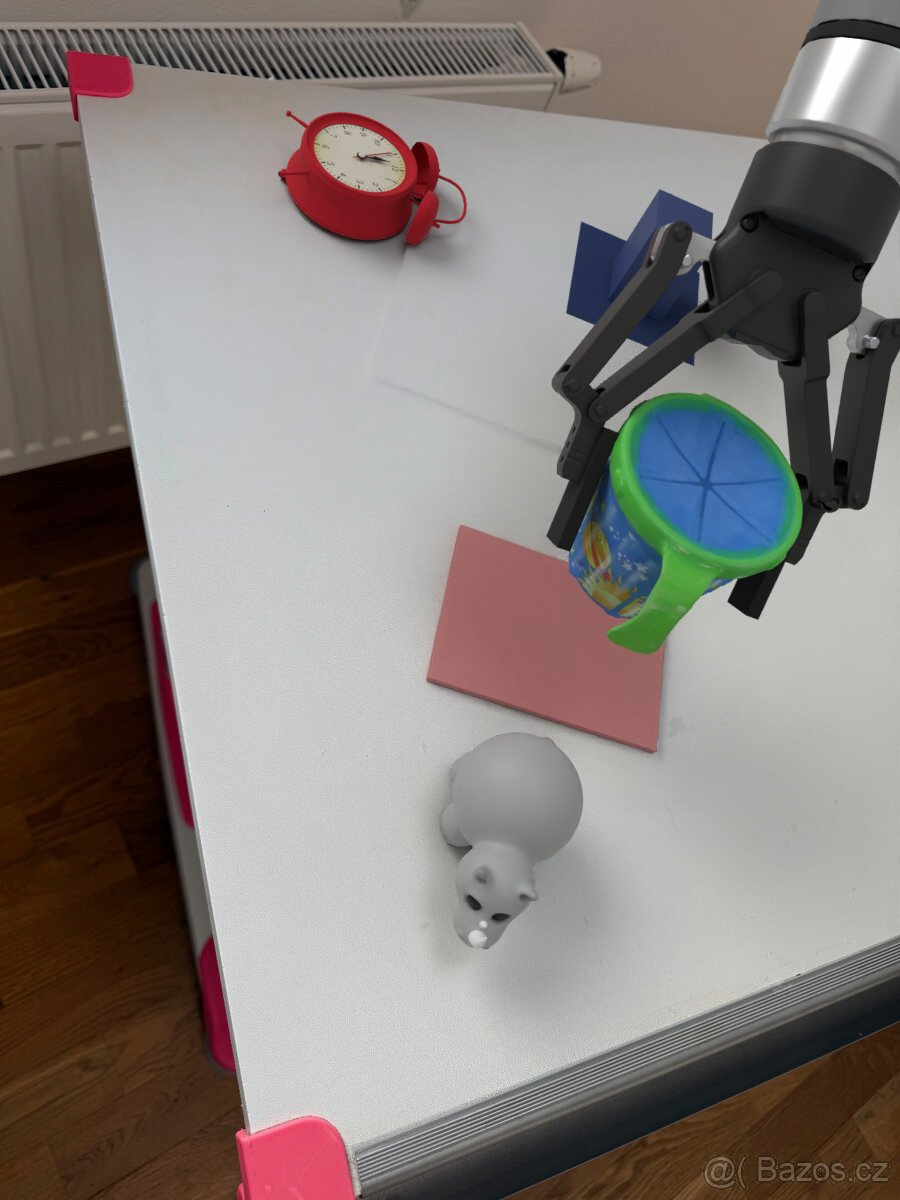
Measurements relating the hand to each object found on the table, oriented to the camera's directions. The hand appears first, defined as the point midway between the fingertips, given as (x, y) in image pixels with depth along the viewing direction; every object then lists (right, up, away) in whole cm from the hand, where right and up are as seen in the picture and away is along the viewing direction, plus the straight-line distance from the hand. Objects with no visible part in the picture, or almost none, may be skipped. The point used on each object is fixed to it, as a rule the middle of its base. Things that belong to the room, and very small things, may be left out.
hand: (651, 578), depth 52 cm
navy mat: (+5, +25, +32) cm, 41 cm away
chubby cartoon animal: (-10, -16, +4) cm, 19 cm away
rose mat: (-4, -4, +13) cm, 14 cm away
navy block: (+5, +26, +32) cm, 41 cm away
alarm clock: (-18, +31, +27) cm, 45 cm away
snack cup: (-1, +1, +5) cm, 5 cm away
